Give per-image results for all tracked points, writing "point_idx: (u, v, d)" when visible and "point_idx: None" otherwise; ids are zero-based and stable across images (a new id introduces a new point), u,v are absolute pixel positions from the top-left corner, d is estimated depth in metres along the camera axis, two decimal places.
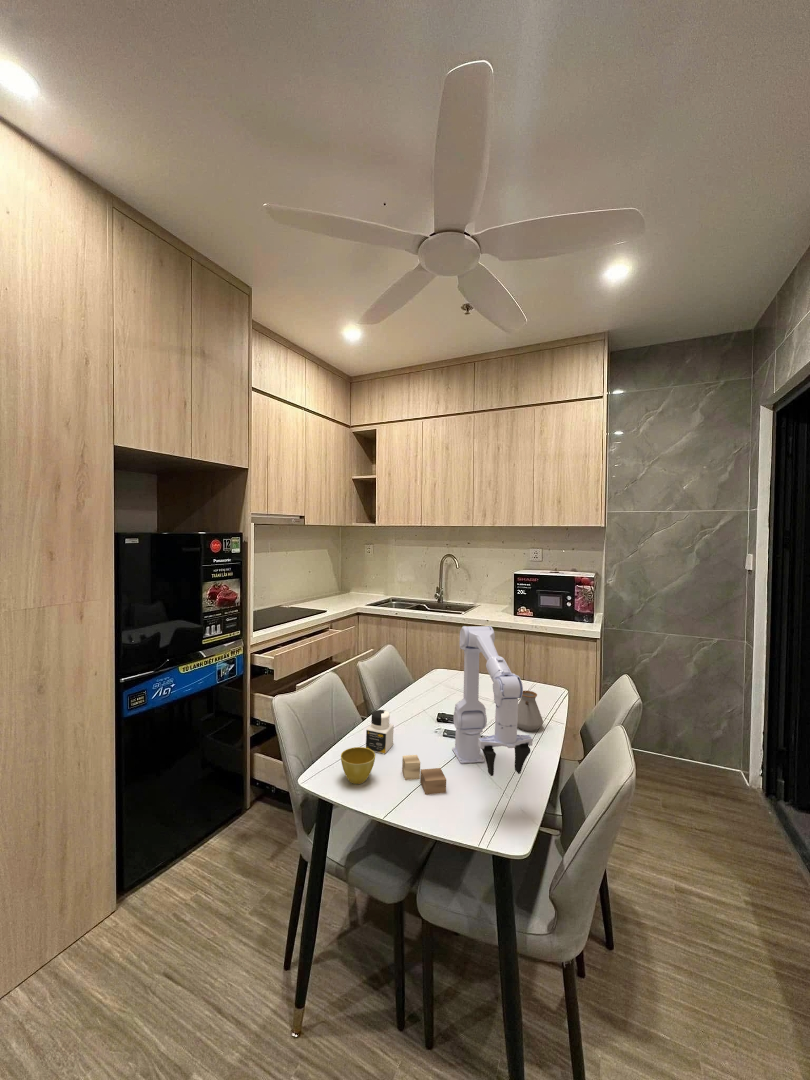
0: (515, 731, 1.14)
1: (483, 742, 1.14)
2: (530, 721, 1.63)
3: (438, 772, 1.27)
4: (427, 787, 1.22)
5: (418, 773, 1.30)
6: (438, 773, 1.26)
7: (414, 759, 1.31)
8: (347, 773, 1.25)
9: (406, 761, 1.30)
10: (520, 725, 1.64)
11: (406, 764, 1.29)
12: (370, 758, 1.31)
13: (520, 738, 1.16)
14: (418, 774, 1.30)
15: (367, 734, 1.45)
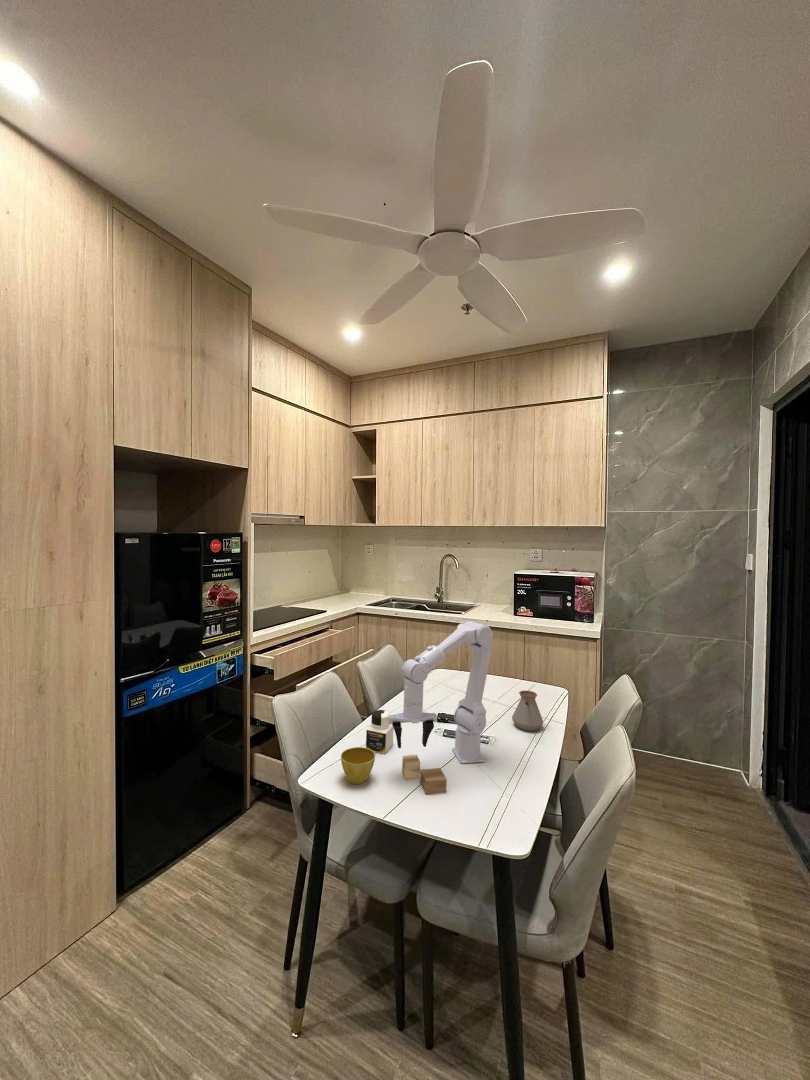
0: (420, 709, 1.29)
1: (391, 718, 1.29)
2: (530, 721, 1.63)
3: (438, 772, 1.27)
4: (427, 788, 1.22)
5: (418, 773, 1.30)
6: (438, 773, 1.26)
7: (414, 759, 1.31)
8: (347, 773, 1.25)
9: (406, 761, 1.30)
10: (520, 725, 1.64)
11: (406, 764, 1.29)
12: (370, 758, 1.31)
13: (426, 715, 1.32)
14: (418, 774, 1.30)
15: (367, 734, 1.45)
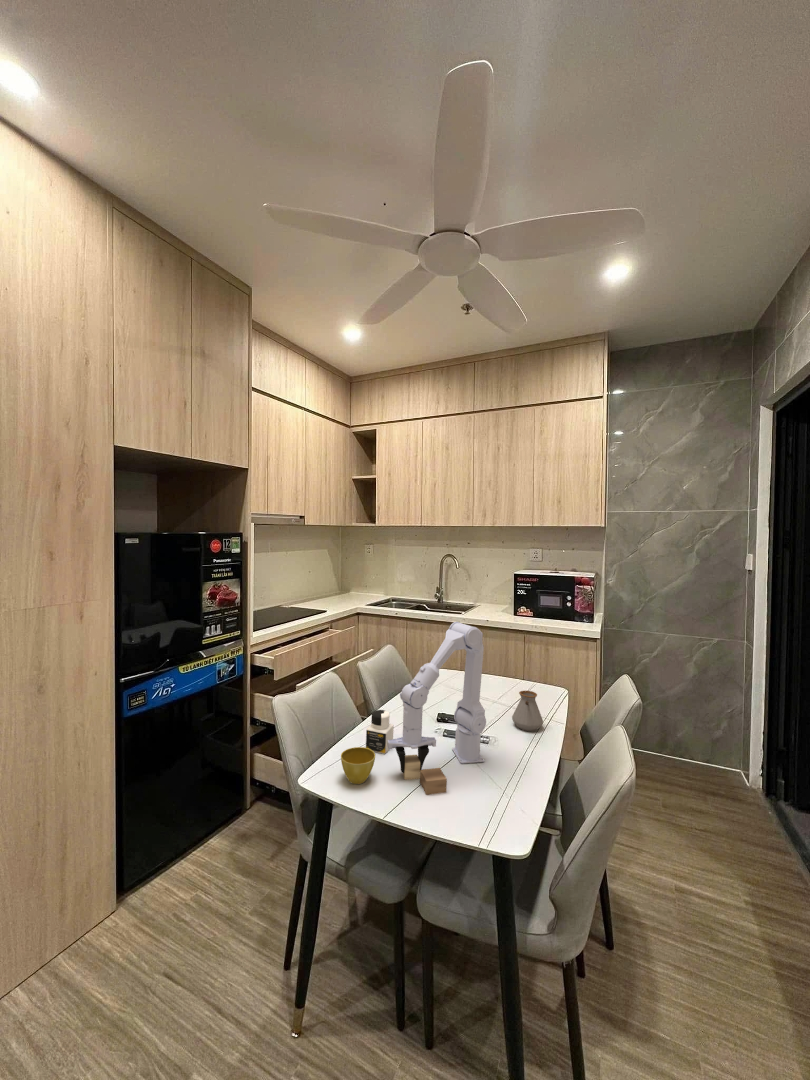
0: (419, 734, 1.29)
1: (390, 743, 1.29)
2: (530, 721, 1.63)
3: (438, 772, 1.27)
4: (427, 788, 1.22)
5: (418, 773, 1.30)
6: (437, 773, 1.26)
7: (414, 759, 1.31)
8: (347, 773, 1.25)
9: (406, 761, 1.30)
10: (520, 725, 1.64)
11: (406, 764, 1.29)
12: (370, 758, 1.31)
13: (425, 740, 1.32)
14: (418, 774, 1.30)
15: (367, 734, 1.45)
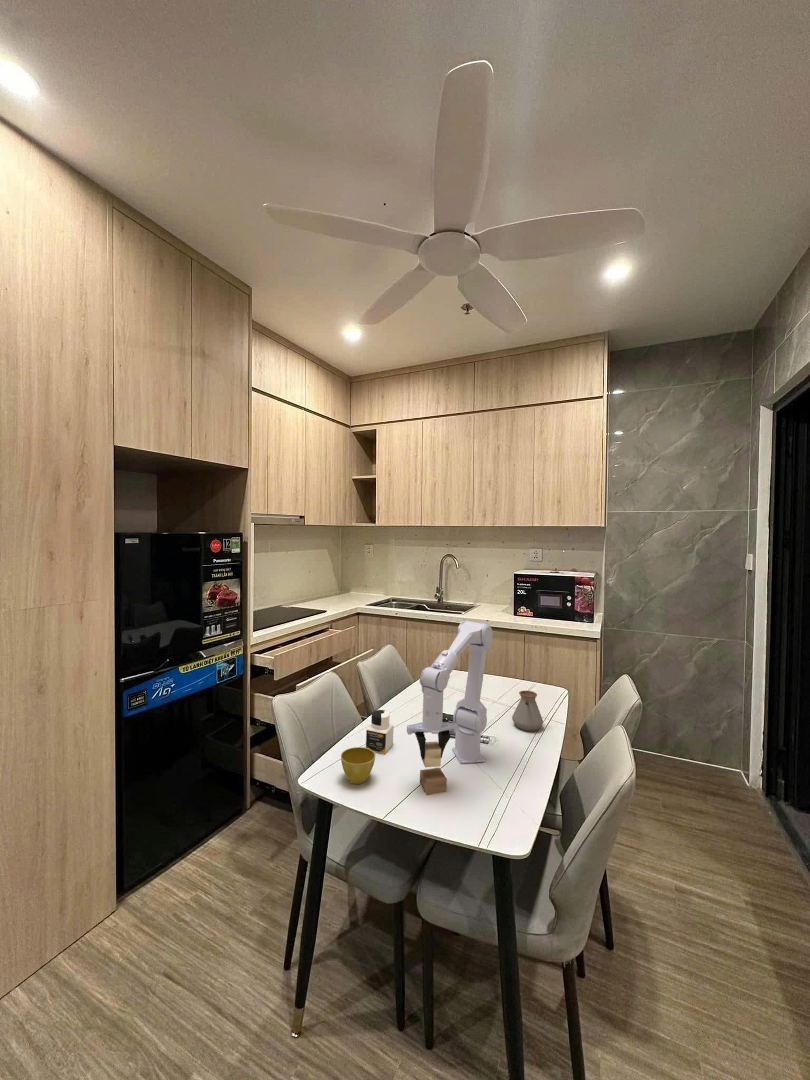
0: (440, 719, 1.24)
1: (410, 728, 1.24)
2: (530, 721, 1.63)
3: (438, 772, 1.27)
4: (428, 788, 1.22)
5: (439, 760, 1.24)
6: (437, 773, 1.26)
7: (435, 746, 1.26)
8: (347, 773, 1.25)
9: (426, 747, 1.25)
10: (520, 725, 1.64)
11: (426, 750, 1.24)
12: (370, 758, 1.31)
13: (446, 725, 1.27)
14: (439, 761, 1.24)
15: (367, 734, 1.45)
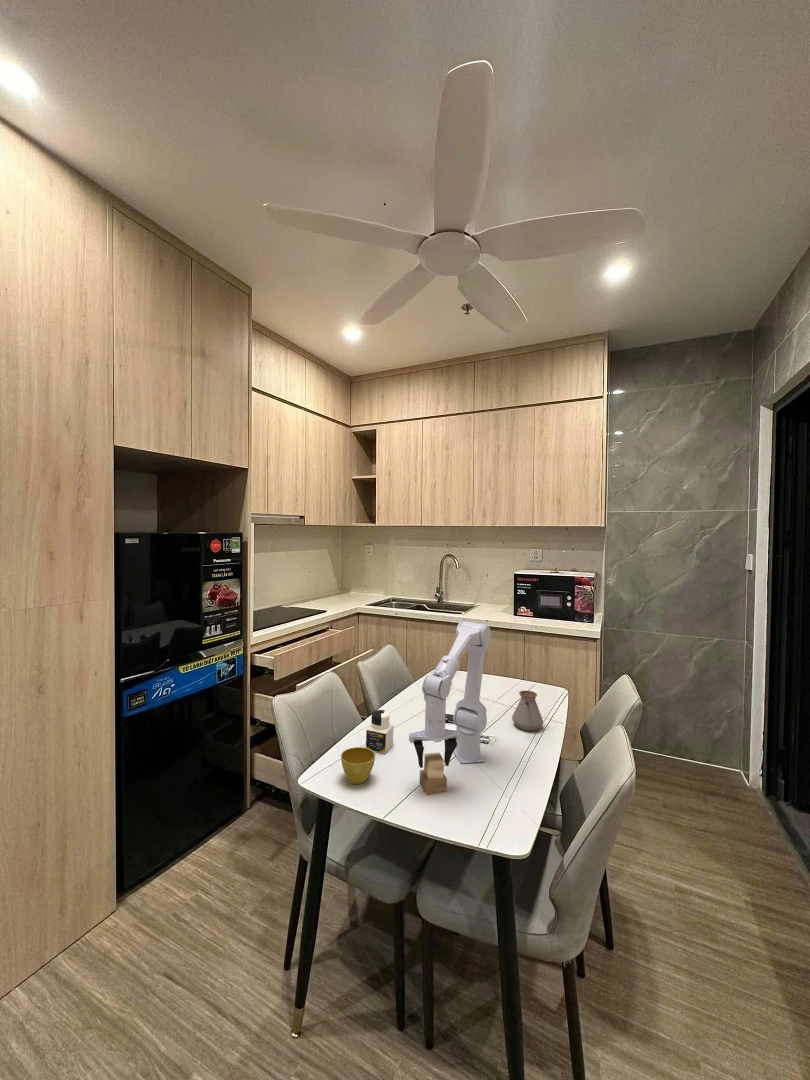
0: (442, 727, 1.23)
1: (413, 737, 1.23)
2: (530, 721, 1.63)
3: None
4: (428, 788, 1.22)
5: (442, 772, 1.24)
6: None
7: (437, 757, 1.25)
8: (347, 773, 1.25)
9: (429, 759, 1.24)
10: (520, 725, 1.64)
11: (429, 762, 1.23)
12: (370, 758, 1.31)
13: (448, 733, 1.26)
14: (442, 773, 1.24)
15: (367, 734, 1.45)
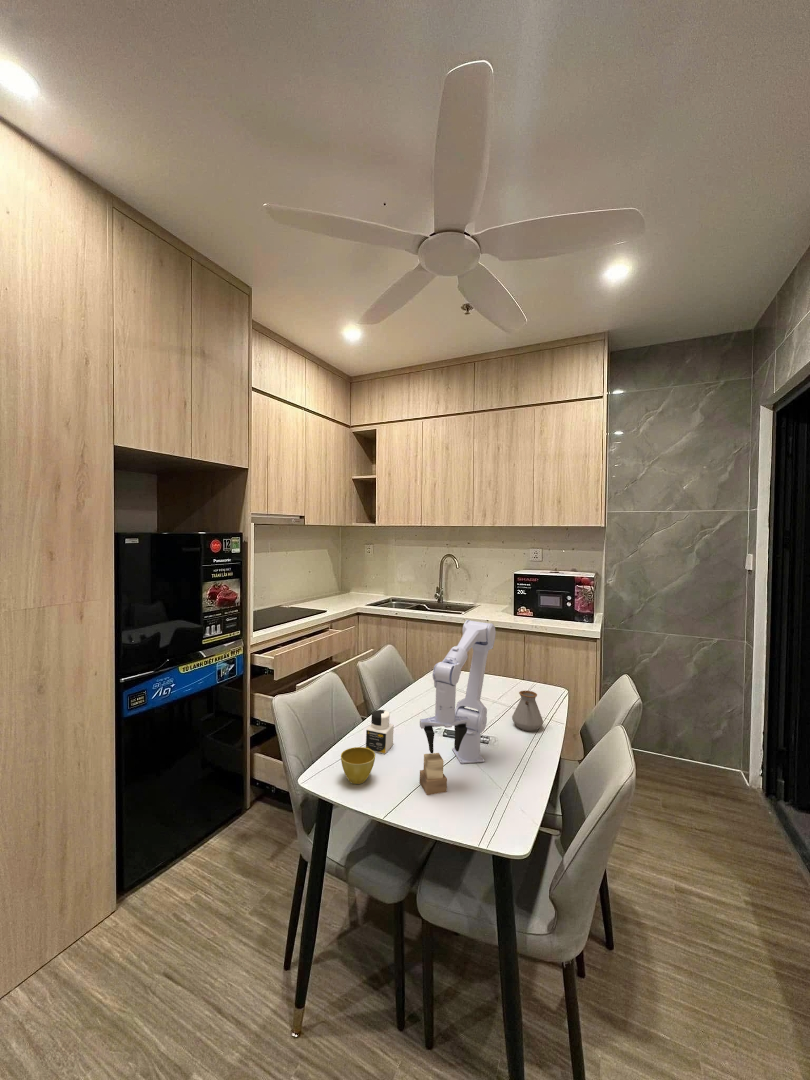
0: (453, 713, 1.25)
1: (423, 722, 1.25)
2: (530, 721, 1.63)
3: None
4: (428, 788, 1.22)
5: (441, 772, 1.24)
6: None
7: (437, 758, 1.25)
8: (347, 773, 1.25)
9: (428, 760, 1.24)
10: (520, 725, 1.64)
11: (429, 763, 1.23)
12: (370, 758, 1.31)
13: (458, 719, 1.28)
14: (441, 773, 1.24)
15: (367, 734, 1.45)
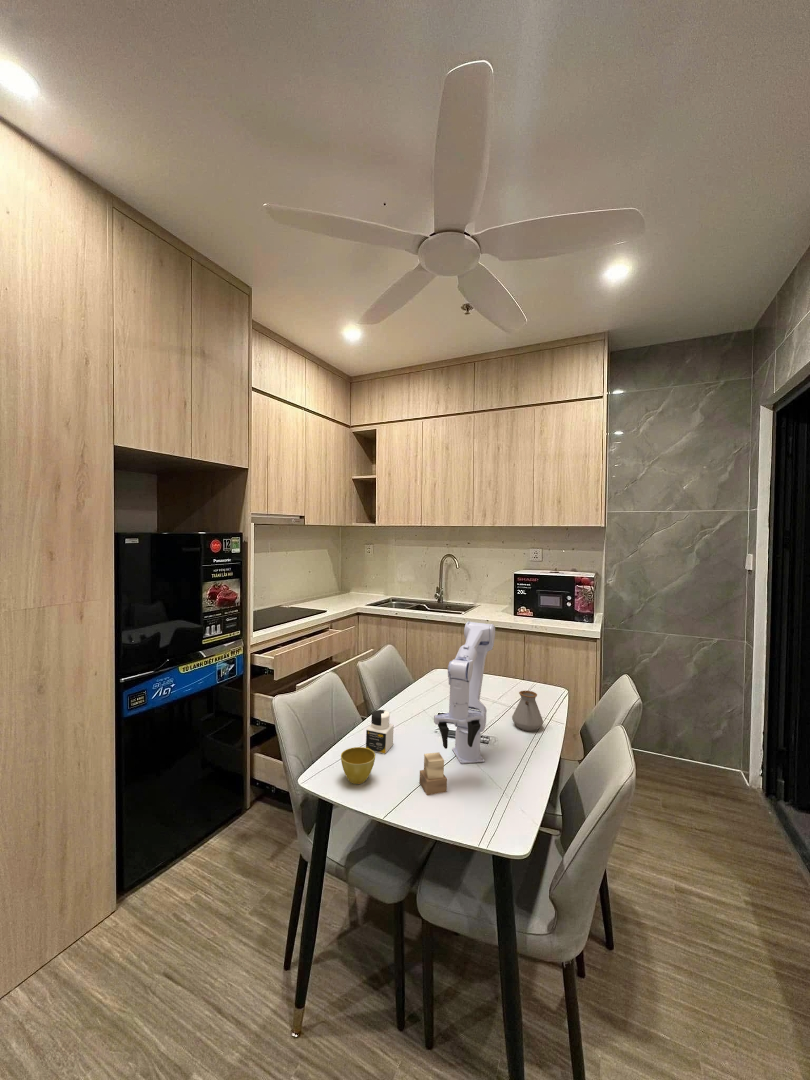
0: (466, 709, 1.28)
1: (438, 718, 1.28)
2: (530, 721, 1.63)
3: None
4: (428, 788, 1.22)
5: (442, 771, 1.24)
6: None
7: (437, 757, 1.25)
8: (347, 773, 1.25)
9: (429, 759, 1.24)
10: (520, 725, 1.64)
11: (429, 762, 1.23)
12: (370, 758, 1.31)
13: (472, 715, 1.30)
14: (442, 772, 1.24)
15: (367, 734, 1.45)
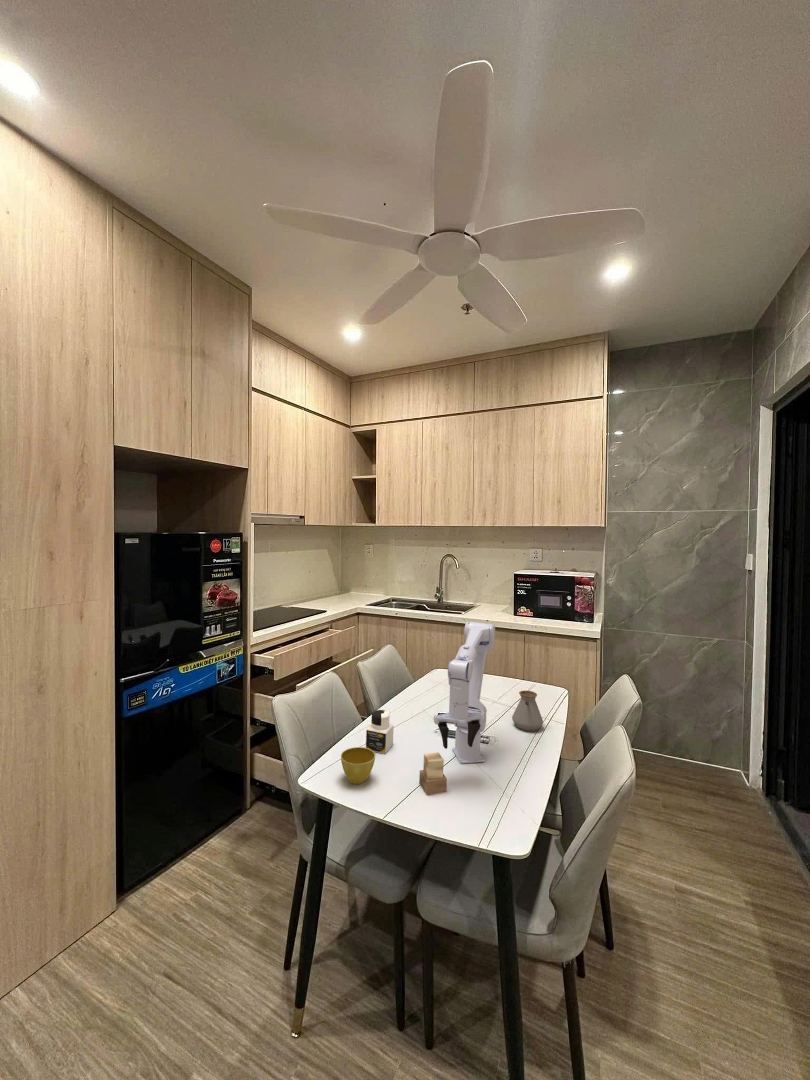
0: (466, 709, 1.28)
1: (438, 718, 1.28)
2: (530, 721, 1.63)
3: None
4: (428, 788, 1.22)
5: (441, 771, 1.24)
6: None
7: (437, 757, 1.25)
8: (347, 773, 1.25)
9: (429, 759, 1.24)
10: (520, 725, 1.64)
11: (429, 762, 1.23)
12: (370, 758, 1.31)
13: (472, 715, 1.30)
14: (441, 772, 1.24)
15: (367, 734, 1.45)
